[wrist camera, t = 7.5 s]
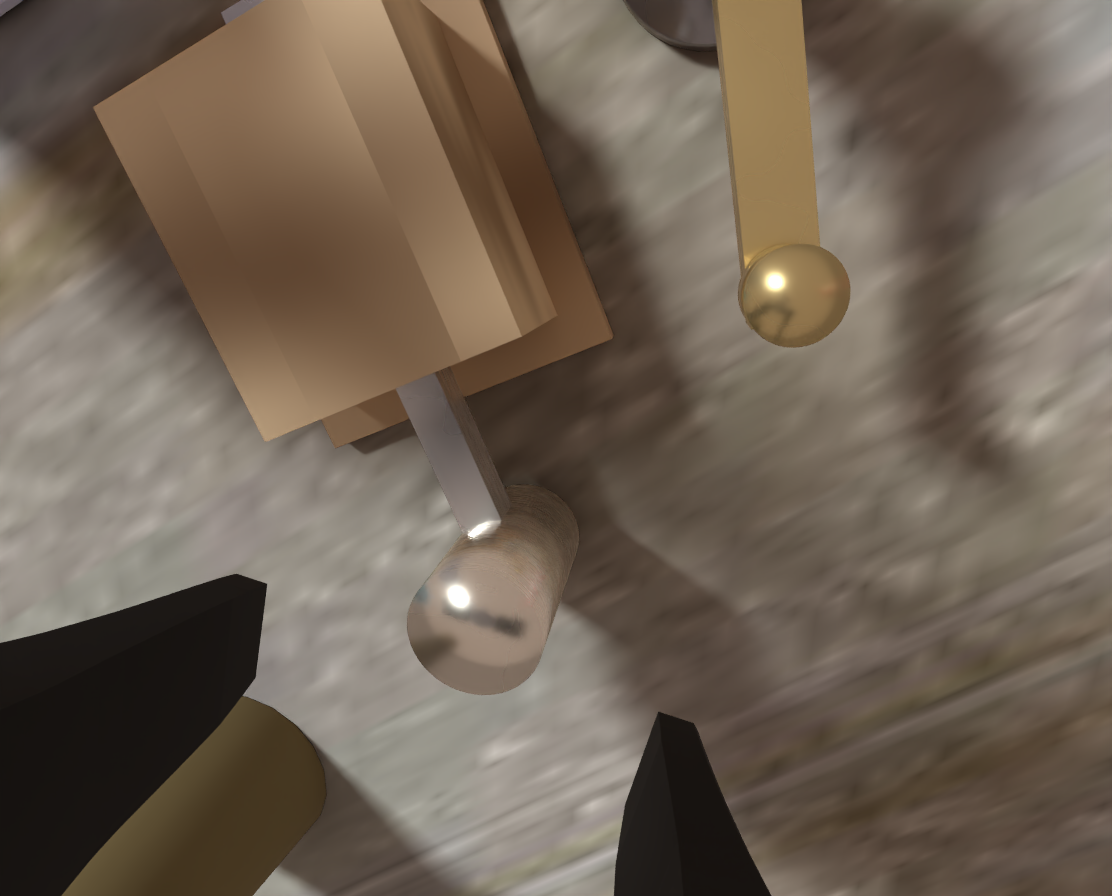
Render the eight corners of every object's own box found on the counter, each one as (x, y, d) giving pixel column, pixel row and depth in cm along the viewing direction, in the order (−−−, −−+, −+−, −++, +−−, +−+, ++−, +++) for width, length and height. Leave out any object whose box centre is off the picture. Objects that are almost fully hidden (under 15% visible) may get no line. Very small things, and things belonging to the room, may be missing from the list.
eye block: (187, 118, 17) (27, 78, 13) (465, -45, 15) (381, -156, 11) (345, 442, 19) (249, 498, 15) (614, 336, 17) (591, 366, 13)
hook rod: (258, 64, 16) (83, -8, 12) (357, 6, 16) (215, -98, 11) (501, 593, 19) (442, 708, 14) (595, 564, 18) (565, 676, 14)
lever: (609, -304, 10) (590, -450, 8) (832, -382, 9) (877, -566, 7) (690, 342, 12) (692, 363, 10) (874, 314, 11) (915, 330, 9)
